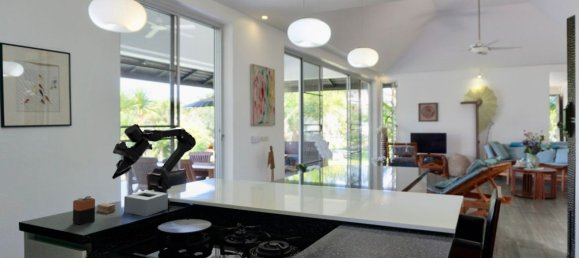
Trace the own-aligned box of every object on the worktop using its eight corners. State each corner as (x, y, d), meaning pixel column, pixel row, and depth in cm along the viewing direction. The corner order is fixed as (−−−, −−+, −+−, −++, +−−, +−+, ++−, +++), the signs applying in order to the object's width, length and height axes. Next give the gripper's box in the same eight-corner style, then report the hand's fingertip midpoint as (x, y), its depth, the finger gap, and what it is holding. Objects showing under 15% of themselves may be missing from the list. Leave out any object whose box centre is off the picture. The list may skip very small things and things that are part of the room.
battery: (95, 221, 155) (95, 196, 154) (79, 225, 149) (79, 199, 148) (88, 219, 157) (88, 195, 156) (72, 223, 151) (72, 198, 150)
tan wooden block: (104, 209, 173) (104, 202, 172) (115, 211, 171) (115, 204, 170) (97, 211, 169) (97, 204, 169) (108, 213, 167) (108, 206, 167)
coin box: (146, 205, 182) (146, 190, 182) (167, 208, 178) (168, 193, 177) (124, 212, 169) (124, 196, 168) (146, 216, 165) (146, 200, 164)
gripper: (118, 145, 182) (95, 170, 172) (128, 131, 168) (103, 156, 158) (138, 160, 185) (116, 185, 175) (149, 147, 171) (126, 173, 161)
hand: (114, 175), depth 167 cm, fingers open, 9 cm apart
